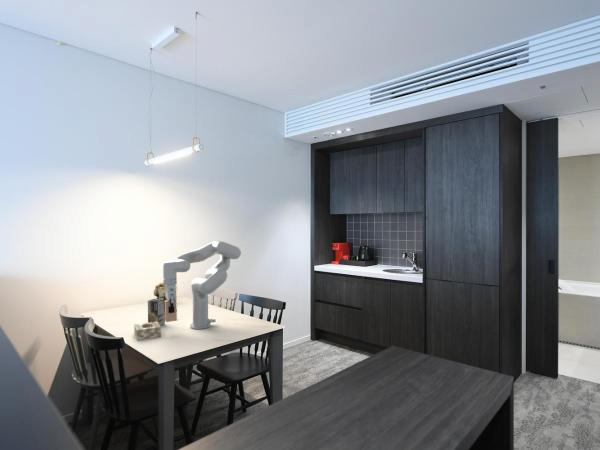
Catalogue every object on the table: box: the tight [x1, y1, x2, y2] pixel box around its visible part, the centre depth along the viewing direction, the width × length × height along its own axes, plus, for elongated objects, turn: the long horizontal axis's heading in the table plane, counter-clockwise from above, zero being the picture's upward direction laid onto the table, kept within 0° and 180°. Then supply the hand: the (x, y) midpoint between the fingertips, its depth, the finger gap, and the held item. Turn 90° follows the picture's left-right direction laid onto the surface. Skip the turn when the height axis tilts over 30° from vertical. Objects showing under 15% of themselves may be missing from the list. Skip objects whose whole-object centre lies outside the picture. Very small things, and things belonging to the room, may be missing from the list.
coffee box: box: [147, 298, 166, 327], centre depth 238 cm, size 9×6×16 cm
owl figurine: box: [153, 282, 166, 300], centre depth 298 cm, size 18×12×17 cm, turn 45°
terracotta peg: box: [165, 300, 178, 323], centre depth 220 cm, size 6×4×12 cm
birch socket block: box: [133, 322, 162, 341], centre depth 217 cm, size 13×13×6 cm
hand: (170, 311), depth 220 cm, fingers closed on terracotta peg, 4 cm apart
